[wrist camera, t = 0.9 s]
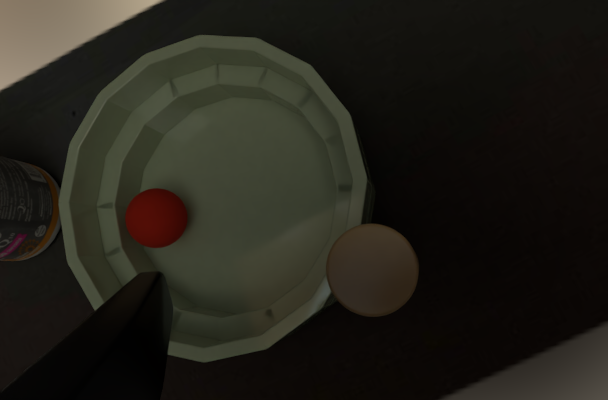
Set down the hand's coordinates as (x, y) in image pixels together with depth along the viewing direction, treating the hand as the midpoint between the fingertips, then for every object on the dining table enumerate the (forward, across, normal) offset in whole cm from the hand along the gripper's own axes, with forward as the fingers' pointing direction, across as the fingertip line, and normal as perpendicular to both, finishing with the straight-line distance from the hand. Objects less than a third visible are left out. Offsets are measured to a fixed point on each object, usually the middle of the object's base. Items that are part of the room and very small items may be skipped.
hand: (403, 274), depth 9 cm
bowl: (+15, +6, +8) cm, 18 cm away
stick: (+12, -2, +10) cm, 16 cm away
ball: (+14, +10, +7) cm, 18 cm away
